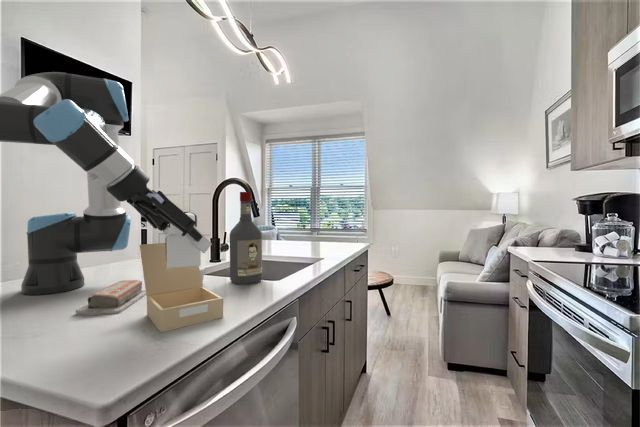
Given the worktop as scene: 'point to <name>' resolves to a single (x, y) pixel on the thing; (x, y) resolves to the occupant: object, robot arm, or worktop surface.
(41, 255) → the robot arm
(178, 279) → the mailer
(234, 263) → the liquor
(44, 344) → the worktop surface
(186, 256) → the medicine bottle
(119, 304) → the packaged product
